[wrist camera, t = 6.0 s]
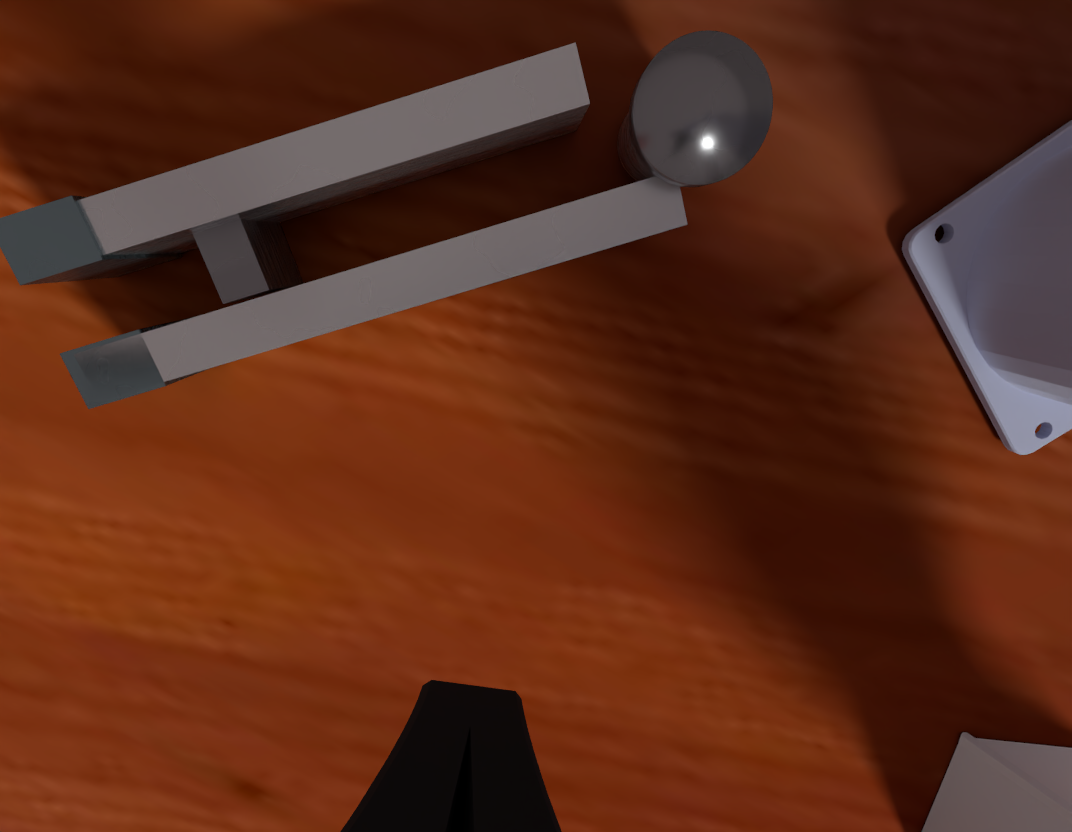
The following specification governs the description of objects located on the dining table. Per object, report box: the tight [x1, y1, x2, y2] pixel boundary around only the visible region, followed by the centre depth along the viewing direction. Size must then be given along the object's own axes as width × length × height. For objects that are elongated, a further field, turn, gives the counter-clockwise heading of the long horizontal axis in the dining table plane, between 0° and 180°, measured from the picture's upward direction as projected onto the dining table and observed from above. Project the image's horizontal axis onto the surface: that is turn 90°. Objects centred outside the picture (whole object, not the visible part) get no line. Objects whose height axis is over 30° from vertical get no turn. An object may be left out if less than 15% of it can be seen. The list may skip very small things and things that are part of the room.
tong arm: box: [60, 113, 688, 409], centre depth 15 cm, size 16×3×3 cm, turn 106°
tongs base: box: [0, 31, 773, 304], centre depth 14 cm, size 17×4×4 cm, turn 106°
